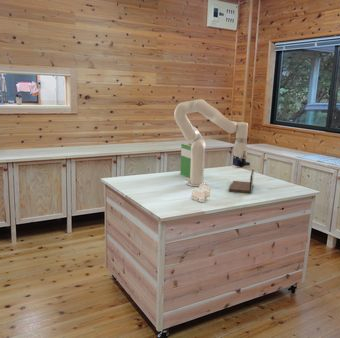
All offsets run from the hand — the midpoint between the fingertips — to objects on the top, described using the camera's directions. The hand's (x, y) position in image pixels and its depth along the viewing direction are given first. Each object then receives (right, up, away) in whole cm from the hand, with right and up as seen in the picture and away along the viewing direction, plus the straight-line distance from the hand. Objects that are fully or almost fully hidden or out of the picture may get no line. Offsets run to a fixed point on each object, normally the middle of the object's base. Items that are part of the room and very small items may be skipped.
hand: (238, 165), depth 264 cm
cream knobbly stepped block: (-28, -21, -28) cm, 45 cm away
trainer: (+2, -1, +1) cm, 2 cm away
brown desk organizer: (+2, -16, +1) cm, 16 cm away
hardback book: (-33, -8, +34) cm, 48 cm away
